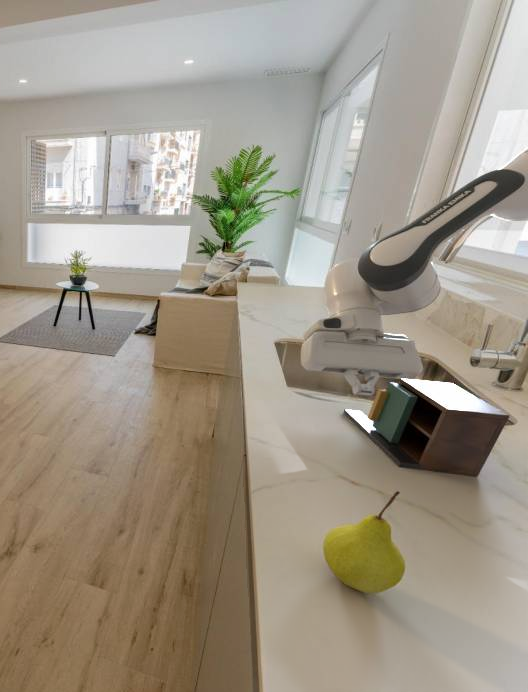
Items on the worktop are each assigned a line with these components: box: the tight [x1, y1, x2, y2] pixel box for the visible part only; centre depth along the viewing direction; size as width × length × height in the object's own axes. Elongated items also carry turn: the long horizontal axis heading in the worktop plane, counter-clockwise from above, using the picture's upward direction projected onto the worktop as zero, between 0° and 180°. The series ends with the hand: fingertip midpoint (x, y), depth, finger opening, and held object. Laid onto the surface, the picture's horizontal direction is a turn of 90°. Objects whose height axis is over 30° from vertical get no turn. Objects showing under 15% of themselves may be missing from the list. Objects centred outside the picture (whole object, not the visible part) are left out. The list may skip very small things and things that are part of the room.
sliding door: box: [367, 381, 418, 443], centre depth 75 cm, size 2×6×9 cm, turn 168°
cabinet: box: [342, 378, 510, 478], centre depth 74 cm, size 11×19×11 cm, turn 168°
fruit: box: [322, 490, 406, 595], centre depth 46 cm, size 7×7×12 cm
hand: (364, 394), depth 82 cm, fingers closed
